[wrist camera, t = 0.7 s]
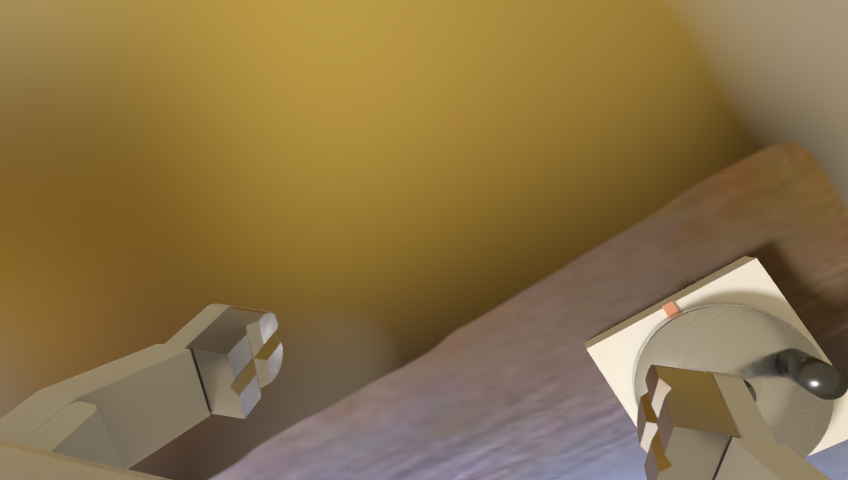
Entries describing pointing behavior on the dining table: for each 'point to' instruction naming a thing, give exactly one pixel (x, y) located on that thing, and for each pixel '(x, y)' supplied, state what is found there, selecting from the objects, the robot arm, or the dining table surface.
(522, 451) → the dining table surface
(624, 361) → the wheel base
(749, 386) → the handwheel
